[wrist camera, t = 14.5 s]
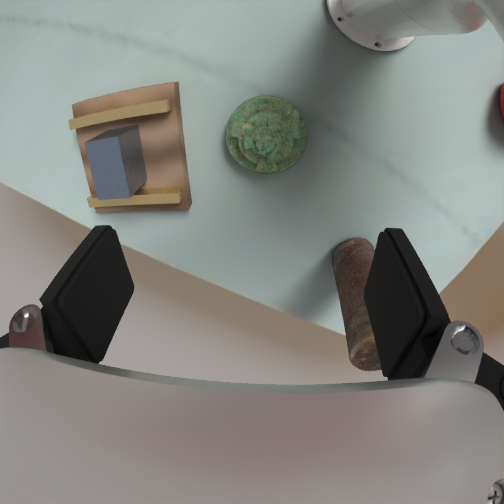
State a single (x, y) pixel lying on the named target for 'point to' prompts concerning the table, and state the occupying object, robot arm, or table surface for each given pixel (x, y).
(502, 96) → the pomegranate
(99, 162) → the block
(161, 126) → the channel stand
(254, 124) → the decorative artifact
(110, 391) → the robot arm
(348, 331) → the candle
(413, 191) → the table surface
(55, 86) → the table surface
